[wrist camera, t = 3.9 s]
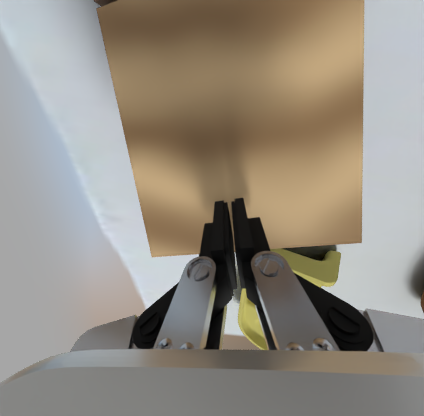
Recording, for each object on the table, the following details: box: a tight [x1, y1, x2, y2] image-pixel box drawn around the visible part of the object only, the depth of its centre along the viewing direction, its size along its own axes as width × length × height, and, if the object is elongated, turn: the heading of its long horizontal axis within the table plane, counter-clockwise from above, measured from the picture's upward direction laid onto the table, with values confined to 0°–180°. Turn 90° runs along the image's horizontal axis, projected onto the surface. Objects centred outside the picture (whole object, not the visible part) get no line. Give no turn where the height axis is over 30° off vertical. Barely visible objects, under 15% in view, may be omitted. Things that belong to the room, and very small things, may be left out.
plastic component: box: [238, 248, 341, 350], centre depth 24 cm, size 20×7×10 cm
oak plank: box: [97, 0, 364, 257], centre depth 10 cm, size 16×14×2 cm
